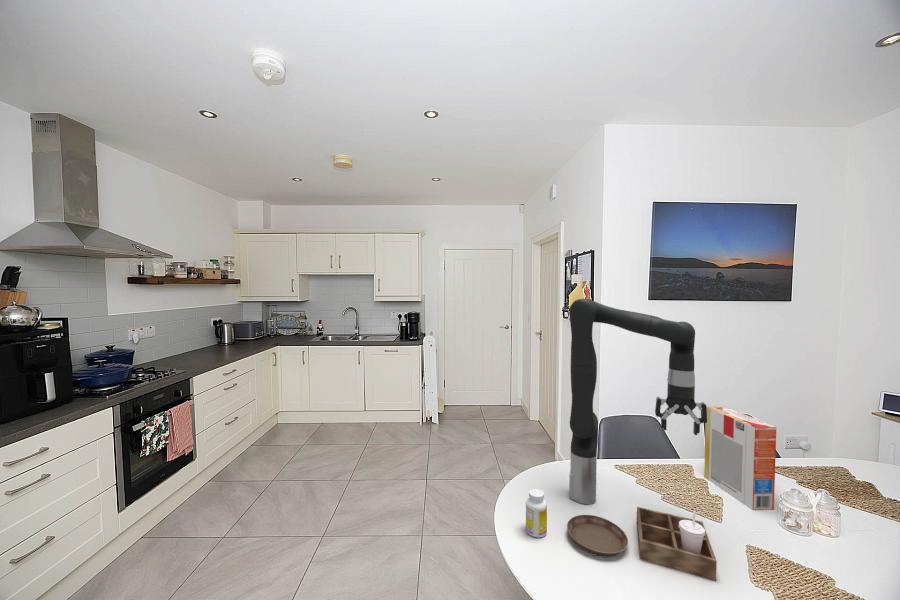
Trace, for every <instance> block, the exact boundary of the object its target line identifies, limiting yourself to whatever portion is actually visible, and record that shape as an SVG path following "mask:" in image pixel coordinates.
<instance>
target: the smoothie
mask: <svg viewBox="0 0 900 600" xmlns="http://www.w3.org/2000/svg"><path fill="white" fill-rule="evenodd" d="M692 519H693V521H690V520H681V521H679V528H680V532H681V540H682V549H683V551H687V552H691V553H695V554H699V555H700V553H701V547H702V542H703V536H705V530H706V528H705V527H704V528H705V529H704V528H703V527H702V526H701V525H700V524H698V523H696V522H695V520H696V511H694V510H693V511H692Z"/></svg>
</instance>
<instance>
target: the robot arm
mask: <svg viewBox="0 0 900 600" xmlns="http://www.w3.org/2000/svg"><path fill="white" fill-rule="evenodd" d="M568 313H569V314H568V315H569V322H570V323H569V324H570V333H571V339H570V340H571V343H570V389H571V390H570V391H571V409H570V417H569V428H570V430H571V434H572V437H571V442H570V464H569V465H570V468H569V469H570V470H569V481H568V482H569V488H568V489H569V490H568V495H569V497H568V498H569V500H573V501H574V502H576V503H578V504H582V505H592V504H595V503H596V501H597V464H598V463H597V459H598V458H597V455H598V453H597V451H598V443H599V419H598V417H597V414H596V413H595V412H594V396H595V391H596V385H597V378H598V377H597V376H598V374H597V373H598V362H597V361H598V359H597V353H596V349H595V346H594V345H595V344H594V341H593V326H594V323H599V324H605V325H606V324H607V325H610V326H614V327H618V328H620V329H623V330H624V331H629V332H631V333H635V334H639V335H644V336H648V337H652V338H657V339H659V340H663V341H666V342H669V343H670V352H669V357H668V371H667V379H666V380H667V390H666V391H667V393H666V398H661V397H659V396H657V397H656V399H655V409H654V414H655V417H659V418H660V419H661V420H660V426H661V427H660V428H661V429H663V431H667V418H668V417H669V416H671V415H672V414H673V413H674V415H675V414H676V415H683V416H687V415H689V416H690V417H691V418H692V419H693V432H692V433H693V435H694V436H698V434H700V431H701V429H700V427H701V424H706V423H707V407H708V406H707V404H706V403H705V402H703V401H701V402H695V397H696V396H695V391H696V390H695V388H696V373H695V353H694V352H695V342H696V341H695V340H696V329H695V327H694V326H693V325H692V324H691V323H689V322H688V321H673V320H669V319H665V318H664V319H663V318H661V317H659V316H655V315H652V314H646V313H642V312H636V311H632V310H631V311H629V310H624V309H619V308H615V307H611V306H607V305H604V304H602V303H599V302H597V301H595V300H592V299H590V298H578V299H576V300H574V301H572V303H571V305H570V306H569V312H568ZM664 404H666V405H667V408H665V410H663V412H661V407H662V406H663V405H664ZM696 407H697V408H698V410H700V417H697V415H696V414H695V413H694V411H693V410H694V409H696Z"/></svg>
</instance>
